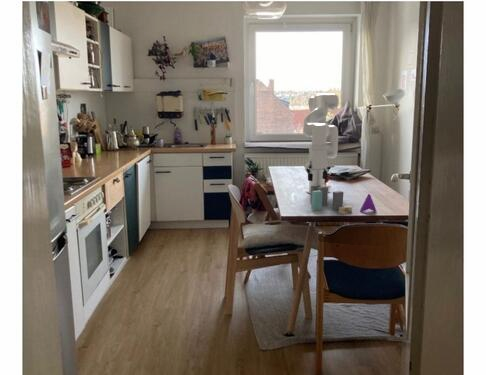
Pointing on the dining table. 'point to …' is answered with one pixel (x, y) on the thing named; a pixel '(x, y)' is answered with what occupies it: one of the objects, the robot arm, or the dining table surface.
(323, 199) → the tile
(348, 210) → the stop block
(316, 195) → the teal tile
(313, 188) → the tile
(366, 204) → the arrowhead
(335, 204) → the tile
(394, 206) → the dining table surface
